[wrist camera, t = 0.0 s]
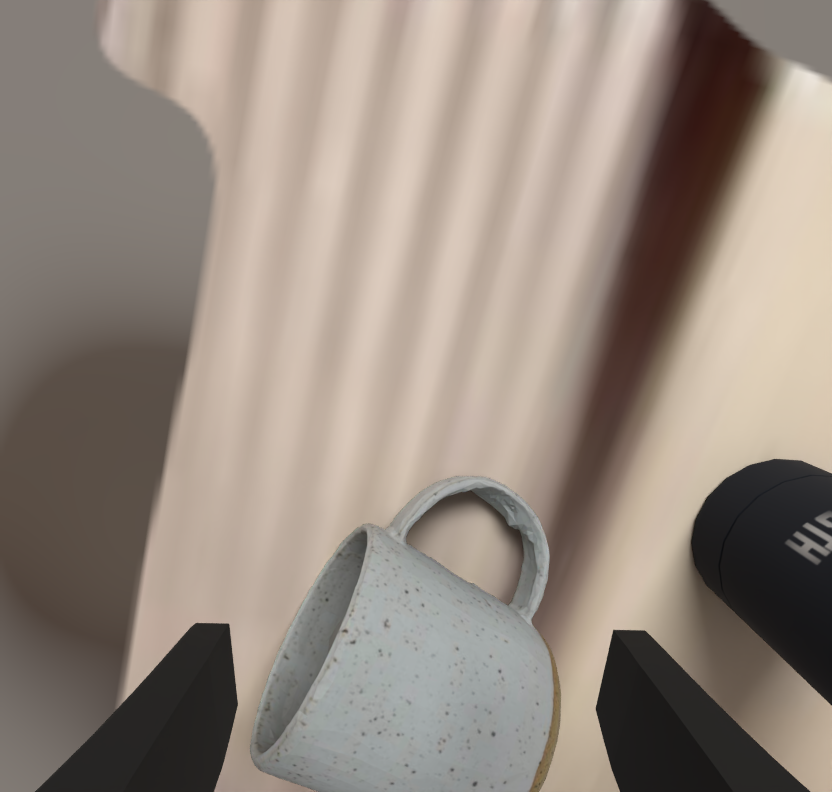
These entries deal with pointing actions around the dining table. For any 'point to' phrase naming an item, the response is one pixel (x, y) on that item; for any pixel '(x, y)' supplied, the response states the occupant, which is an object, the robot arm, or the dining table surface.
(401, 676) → the ceramic mug
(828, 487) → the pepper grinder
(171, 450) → the dining table surface
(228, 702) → the robot arm
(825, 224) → the dining table surface
